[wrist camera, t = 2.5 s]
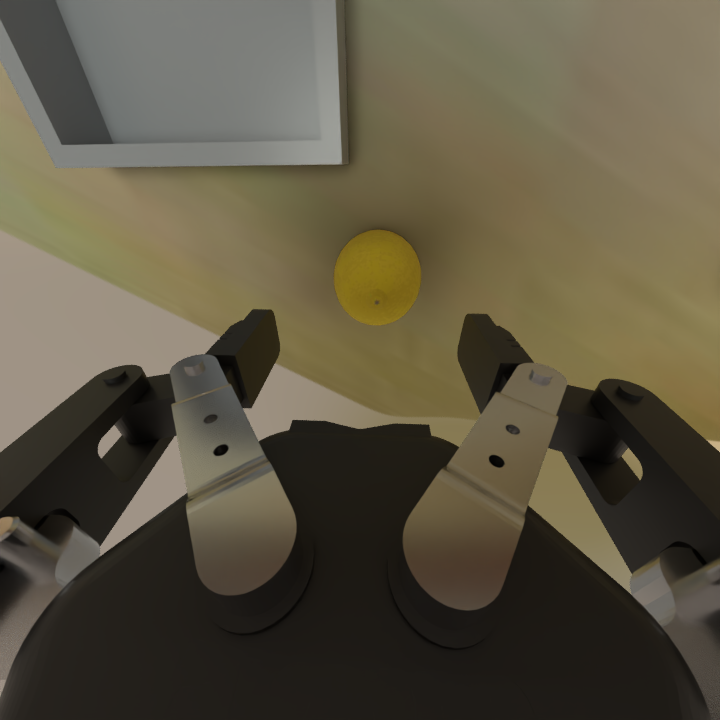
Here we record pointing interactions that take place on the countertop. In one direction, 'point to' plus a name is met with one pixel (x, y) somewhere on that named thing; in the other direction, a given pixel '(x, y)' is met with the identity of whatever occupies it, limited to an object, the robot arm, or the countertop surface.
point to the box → (181, 80)
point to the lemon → (377, 277)
